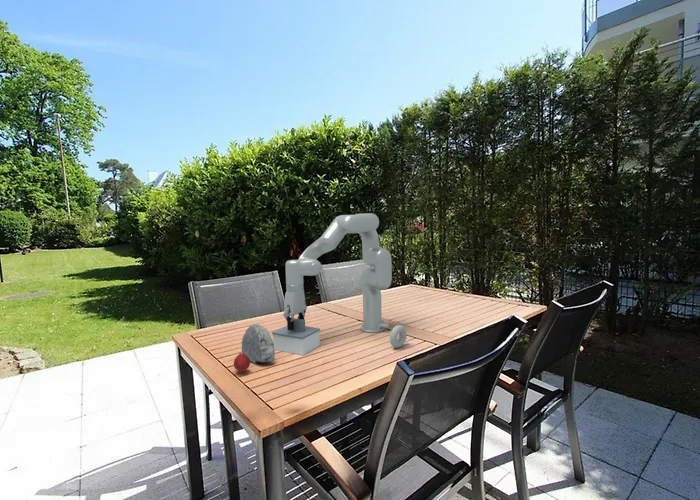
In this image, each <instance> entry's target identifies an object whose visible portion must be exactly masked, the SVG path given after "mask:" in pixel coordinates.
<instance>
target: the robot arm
mask: <svg viewBox="0 0 700 500" xmlns="http://www.w3.org/2000/svg"><path fill="white" fill-rule="evenodd" d="M379 225H380V220H379V217H378V216H377V214H375V213H370V212H369V213H367V212H366V213H356V214H341V215H338V216H337V217H335V218H334V219H333V220H332V222H331V223H330V225H329V226H328V227H327V228H326V229H325V231H324V232H323V233H322V235H321V236H320V237H319V238H318V239H316V240H315V241H314V242H313V243H311V244H310V245H309V246H307V248H305V250H304V251H303V252H302V253H301V255H300V256H299V258H298V259H289V260H286V262H285V284H286V285H285V287H286V288H285V289H286V292H285V294H284V300H283V301H284V304H283V308H284V311H283V314H282V316H283V317H284V319H285V321H286V323H287V324H286V326H287V325H288V330H294V321H293V318H295V315H297V319H304V320H305V316H306V312H307V308H308V306H307V304H306V297H305V296H306V295H305V290H304V288H305V287H304V276H310V277H311V276H314V277H315V276H317V275H319V273H320V272H321V271H322V263H321V262H320V261H319V260H317V259H319V257H321V256H322V255H324V254H326V253H329V252H331V251H333V250H335V249H336V248H337V246H338V245H339V244H340V242H341V241H342V240H343V239H344V237H345V235H346V234H359V235H360V239H361V244H362V245H361V247H362V248H361V249H362V261H363V263H364V264H365V265H366V266H370V267H369V268H365V269H364V270H362V272H361V273H360V283H361V288H362V290H361V291H362V321H363V322H362V325H360V327H359V329H360V330H361V331H362V332H365V333H373V334H374V333H381V332H383V331H384V330H385V329H389V328H390V325H389V323H385V322H384V319H382V315H383V313H382V290H387V289H388V288H389V287H391V284H392V281H393V275H392V274H393V273H392V269H393V267H392V256H391V253H390V251H389V250H387V249H386V248H384V247H380V241H379V234H378V232H377V229H378V227H379ZM371 267H372V268H371ZM373 267H374V268H373Z"/></svg>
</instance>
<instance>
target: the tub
mask: <svg viewBox="0 0 700 500" xmlns="http://www.w3.org/2000/svg"><path fill="white" fill-rule="evenodd" d="M320 337H321V336H320V331H318V332H316V333H314V334H312V335H310V336H308V337H306V338H304V339H297V338H291V337H286V336H280V335H274V334H272V341H273V344H274V350H275V351H279V352H284V353H291V354H294V355H300V356H304V355H306V354H308V353H309V352H311V351H314V349H316V348H318V347H319V346H320V345H321V341H320V340H321V339H320Z"/></svg>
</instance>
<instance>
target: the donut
mask: <svg viewBox="0 0 700 500" xmlns="http://www.w3.org/2000/svg"><path fill="white" fill-rule="evenodd" d="M407 336H408V334H407V329H406V328H405V327H404V325H402V324H397V325H394V327H393V328H392V329H391V331H390V333H389V343H390V345H391V346H392V347H393V348H395V349H398V348H401V347H403V346H404V345H405V343H406V340H407Z"/></svg>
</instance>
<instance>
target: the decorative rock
mask: <svg viewBox="0 0 700 500" xmlns="http://www.w3.org/2000/svg"><path fill="white" fill-rule="evenodd" d="M244 333H245V334H243V336H242V340H241V352H243V354H245V355H247V356H248V358H249V360H250V363H251V362H252V363H253V364H259V363H270V362H271V363H272V362H274V361H275V358H276V357H275V356H276V354H275V351H276V350H274V344H273V338H272V336H271V335H270V334H271V333H270V332H269V330H268V329H267V328H266V327H264V326H261V325H260V324H256V323H255V324H252V325H249V327H248V328H247V329H245V332H244Z"/></svg>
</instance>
